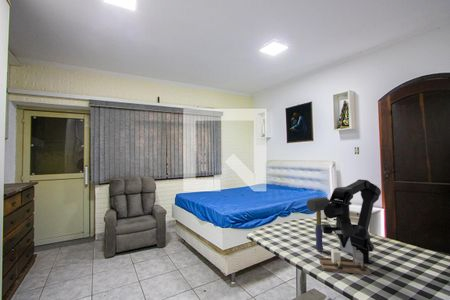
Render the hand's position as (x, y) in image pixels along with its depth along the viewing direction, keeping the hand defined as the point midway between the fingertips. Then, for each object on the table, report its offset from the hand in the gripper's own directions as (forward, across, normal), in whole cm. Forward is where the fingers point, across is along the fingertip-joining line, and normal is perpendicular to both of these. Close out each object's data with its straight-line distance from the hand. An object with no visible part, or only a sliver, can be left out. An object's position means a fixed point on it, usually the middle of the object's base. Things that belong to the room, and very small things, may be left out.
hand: (343, 247), depth 103 cm
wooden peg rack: (+10, 0, +1) cm, 10 cm away
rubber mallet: (+10, -7, +18) cm, 22 cm away
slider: (+9, -3, +1) cm, 9 cm away
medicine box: (+11, +9, +20) cm, 24 cm away
